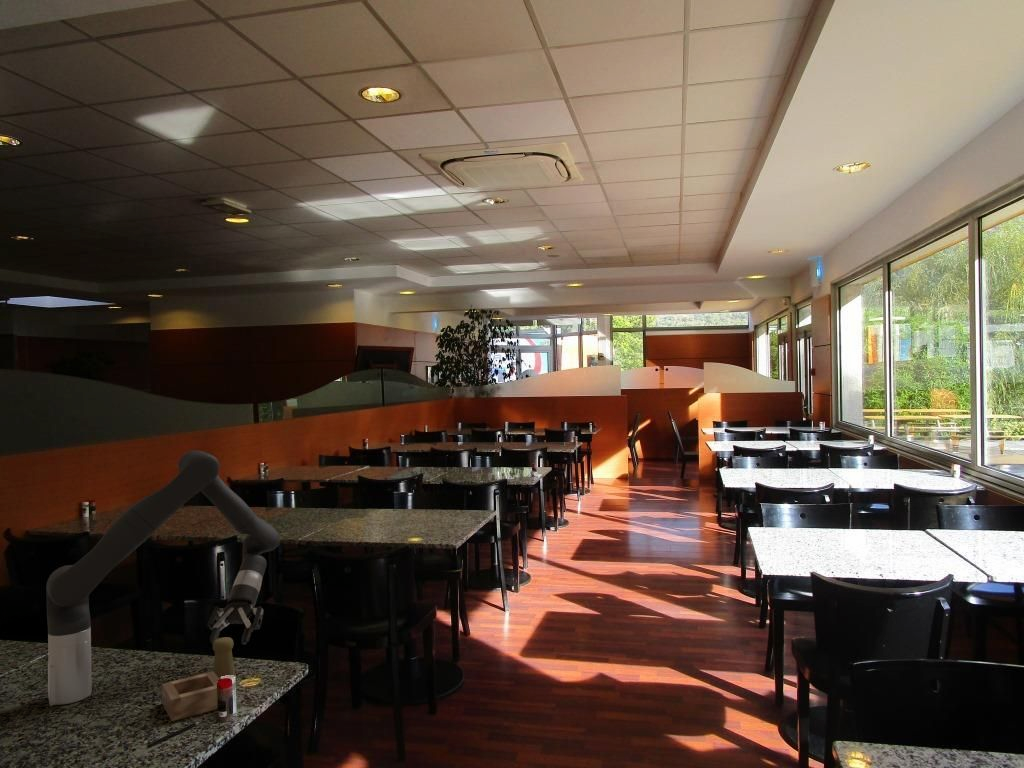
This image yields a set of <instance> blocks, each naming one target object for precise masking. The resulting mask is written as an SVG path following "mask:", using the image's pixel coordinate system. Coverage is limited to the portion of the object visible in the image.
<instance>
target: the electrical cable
mask: <svg viewBox="0 0 1024 768" xmlns="http://www.w3.org/2000/svg"><path fill="white" fill-rule="evenodd" d="M199 723H200V722H199V721H196V722H192V723H191V724H188V725H187V726H185V727H182V728H180V729H178V730H176V731H174V732H171V733H169V734H167V735H164V736H163V737H161V738H159V739H157V740H155V741H152V742H150V743H147V744H146V748H147V749H150V748H153V747H155V746H157V745H158V744H160V743H162V742H164V741H167V740H169V739H171V738H174V737H175V736H176V737H177V736H178V735H181V734H182V733H185V732H186V731H188V730H191V729H192V727H193V728H195V727H196V725H197V726H198V724H199Z"/></svg>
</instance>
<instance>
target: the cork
mask: <svg viewBox="0 0 1024 768" xmlns="http://www.w3.org/2000/svg"><path fill="white" fill-rule="evenodd" d="M234 645H235V643H234V640H233V638H231V637H230V636H229V637H227V636H225V637H218V639H217V640H215V641H214V643H213V644H212V650H213V651H214V658H213V667H212V672H214V673H215V674H216V675H217V677H218V678H220V677H221V676H225V675H234V676H236V671H235V664H234V663H235V662H234V657H233V656H234V655H233V651H232V649H233V648H234ZM236 677H237V676H236Z"/></svg>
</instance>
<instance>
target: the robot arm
mask: <svg viewBox="0 0 1024 768" xmlns="http://www.w3.org/2000/svg"><path fill="white" fill-rule="evenodd" d="M220 467H221V465H220V462H219V460H218V458H217V457H215V456H214V455H212V454H210V453H207V452H205V451H202V450H197V449H196V450H195V449H193V450H188V451H187V452H185V453H183V454H182V455H181V456H180V457H179V460H178V462H177V469H178V470H177V471H178V474H177V475H176V476H175V477H174V478H173V479H172V480H171V481H170V482H169V483H167V484H165V486H163V487H161V488H160V489H158V490H156V491H154V492H152V493H150V494H149V495H147V496H145V497H143V498H141V499H139V501H137V502H136V503H134V504H132V505H131V506H130V507H129V508H128V509H127V510H126V511H125V512H123V513H122V514H121V515H120V516H119V517H118V518H116V520H115V521H114V522H113V523H112V524H111V525H110V527H109V528H108V529H107V530H106V532H105V533H104V534H103V535H102V537H101V538H100V539H99V540H98V542H97V543H96V544H95V546H94V547H93V548H92V549H91V550H90V551H89V552H88V553H87V554H85V555H84V556H83V557H81V558H80V559H79V560H78V561H77V562H76V563H74V564H69V565H64V566H63V565H62V566H61V567H58V568H57V569H55V570H54V571H53V572H52V573H51V574H50V575H49V577H48V579H47V581H46V588H45V590H46V594H45V595H46V598H45V599H46V620H47V622H46V623H47V637H48V638H47V641H48V644H47V645H48V652H47V654H48V656H47V657H48V661H47V682H48V683H47V688H48V693H47V694H48V697H47V698H48V704H49V706H50V707H52V706H56V705H58V706H59V705H60V706H61V705H68V704H73V703H76V702H80V701H82V700H85V699H86V698H88V697H90V696H91V694H92V644H91V643H92V634H91V631H92V629H91V628H92V627H91V614H90V604H89V603H90V601H89V600H90V599H89V596H90V594H91V593H92V592H93V590H95V589H96V588H97V587H98V585H99V584H101V582H102V581H103V580H104V578H105V577H106V576H107V575H108V574H110V572H111V571H112V570H113V569H114V568H115V567H116V566H117V565H119V564H120V563H121V562H122V561H123V560H125V559H126V558H127V557H129V556H130V555H131V554H132V553H133V552H134V551H135V550H136V549H138V548H139V547H140V546H141V545H143V543H145V542H146V541H147V540H148V539H149V538H150V537H151V536H152V535H153V534H154V533H155V532H156V531H158V530H159V529H160V527H162V525H163V524H165V522H167V521H168V520H169V519H170V518H171V517H172V516H173V515H174V514H175V513H176V512H177V511H178V510H179V509H180V508H182V506H184V505H185V504H186V503H187V502H188V501H189V500H190V499H193V497H195V495H197V494H198V493H200V492H201V493H202V494H203V495H204V496H205V497H206V498H207V499H208V500H209V501H210V502H211V504H213V505H214V507H215V508H216V509H217V510H218V512H220V514H221V515H222V516H223V518H224V519H225V520H226V521H227V522H228V524H230V525H231V527H232V528H233V529H234V530H235V531H236V532H237V533H238V534H240V535H246V537H245V538H244V540H243V543H242V562H241V565H240V567H239V570H238V573H237V575H236V577H235V580H234V582H233V585H232V587H231V590H230V593H229V596H228V600H227V604H226V606H225V607H224V608H222V607H219V606H218V605H217V606H215V607H213V611H212V613H211V615H210V617H209V619H208V622H207V624H206V625H207V627H208V628H209V630H211V633H210V636H209V641H210V643H211V644H212V645H213V643H214V641H215V640H217V639H219V638H220V637H219V636H220V633H221V631H222V630H223V629H224V628H226V627H228V626H229V625H236V624H237V625H242V624H244V625H245V628H244V630H243V633H242V636H241V640H240V642H241V644H242V645H247V643H248V642H249V641H250V638H251V635H252V632H253V631H256V630H257V631H259V630H260V628H261V625H262V622H263V619H264V614H265V613H264V612H265V610H264V609H263V607H262V606H261V605H258V606H257V607H255V606H256V603H257V600H258V597H259V593H260V591H261V587H262V583H263V577H264V575H265V571H266V568H267V560H266V558H265V557H263V556H262V555H261V554H263V553H268V552H271V551H274V550H275V549H277V547H279V545H280V541H281V540H280V535H279V532H278V531H277V529H275V527H274V526H272V525H271V524H270V523H268V522H266V521H265V520H264V519H262V518H260V517H259V516H258V515H256V514H255V512H254V511H253V510H252V509H251V508H250V506H249V505H248V504H247V503H246V502H245V501H244V500H243V499H242V498H241V497H240V496H239V495H238V494H237V493H236V492H235V491H233V490H232V489H231V488H230V487H229V486H228V485H227V484H226V483H225V482H224V481H223V480H222V478H221V477H220V475H219V473H220V472H219V471H220ZM252 615H255V616H254V618H253V623H251V621H250V619H249V618H251V616H252Z"/></svg>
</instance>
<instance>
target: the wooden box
mask: <svg viewBox="0 0 1024 768" xmlns="http://www.w3.org/2000/svg"><path fill="white" fill-rule="evenodd" d="M218 680H219V678H218V677H217V675H216V674H215V673H214V672H213V671H208V672H205V673H202V674H196V675H191V676H188V677H185V678H184V677H183V678H179V679H177V680H173V681H172V680H171V681H168V682H164V683H162V684H161V690H162V693H161V694H162V695H161V696H162V698H161V699H162V700H161V701H162V702H161V703H162V706H163V707H164V709H165V711H166V713H167V715H168V716H169V719H170V721H171V722H175V721H178V720H183V719H186V718H189V717H192V716H197V715H200V714H204V713H208V712H211V711H215V710H218V709H217V703H218V702H217V701H218V698H217V683H218Z"/></svg>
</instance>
